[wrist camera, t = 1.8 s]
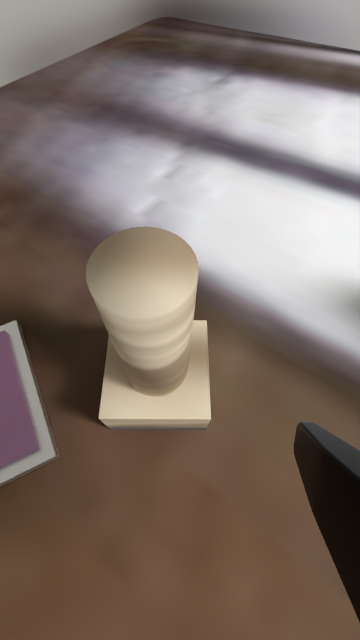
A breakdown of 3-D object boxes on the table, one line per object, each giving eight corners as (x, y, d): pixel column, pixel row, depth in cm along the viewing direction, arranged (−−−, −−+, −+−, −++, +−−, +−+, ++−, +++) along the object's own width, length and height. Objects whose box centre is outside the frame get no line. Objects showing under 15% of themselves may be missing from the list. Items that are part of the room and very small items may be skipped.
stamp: (205, 429, 20) (244, 356, 9) (110, 429, 19) (26, 354, 8) (202, 342, 22) (228, 203, 11) (119, 342, 22) (65, 201, 11)
